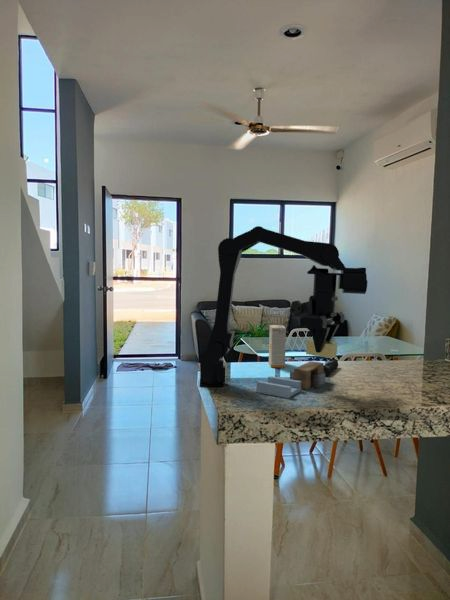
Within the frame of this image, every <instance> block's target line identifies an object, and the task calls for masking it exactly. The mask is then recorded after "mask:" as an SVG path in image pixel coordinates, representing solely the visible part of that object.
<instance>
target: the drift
mask: <svg viewBox="0 0 450 600" xmlns="http://www.w3.org/2000/svg"><path fill="white" fill-rule="evenodd" d="M289 379H291V380H294V369H292V370H289ZM325 386H326V377H325V374H322V373H316V372H311V385H310V388H312V387H313V389H317V388H318V389H317V390H321V389H322V388H324V387H325Z"/></svg>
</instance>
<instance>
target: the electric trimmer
mask: <svg viewBox="0 0 450 600" xmlns="http://www.w3.org/2000/svg"><path fill="white" fill-rule="evenodd" d="M338 367H339V362H338V359H333V360H331V361H329V362H327V363H326V364H324V368H323V374H325V378H328V377H329V375H330V373H331V372H335V371H336V370H337V368H338Z"/></svg>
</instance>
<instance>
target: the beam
mask: <svg viewBox="0 0 450 600" xmlns="http://www.w3.org/2000/svg"><path fill="white" fill-rule="evenodd" d="M324 365H325V364H324V362H319V361H311V360H310V361H308V362H305V363H303V364H301V365H298V366H297V367H295V368H294V369H293V370H294V380H298V381H301V390H307V391H308V390H309V389H311V387H310V385H311V372H316V373H322V374H323V368H324Z"/></svg>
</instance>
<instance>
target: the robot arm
mask: <svg viewBox="0 0 450 600" xmlns="http://www.w3.org/2000/svg"><path fill="white" fill-rule="evenodd" d="M257 244H264V245H268V246H271V247H274V248H278V249H280V250H284V251H288V252H290V253H294V254H297V255H300V256H302V257H304V258H306V259H308V260H310V261H311V262H313V263H314V264H317V265H319V266H321V268H320V267H317V266H316V265H311V268H310V269H309V270H307V272H306V273H307V275H313V287H312V288H313V290H312V295H310V296H309V297H308V301H305V302H301V301H300V300H294V301H291V304H290V306H289V308H290V309H289V313H292V316H293V318H294V319H295V318H298V326H299V327H305V328H306V329H307V330H308V331H309V332H310V333H311V335H312V336H311V337H312V339H313V341H314V345H315V350H316V352H318V353H320V352H321V350H322V348H323V345H324V342H325V341H328V342H332V339H333V337H334V335H335V334H336V332H337V329H338V328H339V327H340V324H338V323H341V324H342V323H345V315H344V313H343V312H342V311H335V310H336V309H335V308H336V307H335V306H336V301H338V300H339V299H338V298H339V297H338V296H336V293H337V291H336V290H337V289H338V290H341V292H342V294H358V295H365V294H366V293H367V290H368V279H367V276H368V275H367V268H366V267H346V266H345V263H343V262H342V260H341V258H340V252H339V250H338V247H337V246H336V245H335V244H333V243H329V242H320V241H308V240H302V239H301V238H300V239H299V238H296V237H293V236H291V235H287V234H283V233H280V232H277V231H273V230H270V229H266V228H264V227H263V226H260V225H257V226H255V227H253V228H252V229H250V230H248V231H246V232H243V233H241V234H239V235H236V236H235V237H233V238H231V237H228V238H227V237H226V238H224V239H222V240H221V241H220V243H219V244H218V247H217V253H218V254H217V255H218V256H217V257H218V263H219V264H218V265H219V273H220V274H219V282H218V288H217V289H218V290H217V300H216V307H215V317H214V323H213V326H212V329H211V332H210V334H209V338H208V342H207V344H206V349H205V350H204V351H203V352H202V353H201V354H200V355H198V360H199V363H200V364H199V370H200V371H199V373H200V374H199V376H200V377H199V386H200V387H224V386H225V385H224V383H226V365H224V360H222V359H223V358H224V357H225V356H227V354H228V353H229V351H230V350H231V349H232V347H233V346H234V336H235V333H236V331H235V330H231V327H230V317H231V312H232V311H231V310H232V302H233V293H234V285H235V277H236V272H237V269H238V267H239V265H240V261H241V257H242V254H243V253H244V252H246V251H248V250H249V249H251V248H253V247H255V246H256V245H257ZM323 267H329V268H330V269H332V270H333V271H339V272H329V268H323ZM337 276H338V277H337ZM337 278H338V279H337ZM337 287H338V288H337ZM335 322H338V323H335Z"/></svg>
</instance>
